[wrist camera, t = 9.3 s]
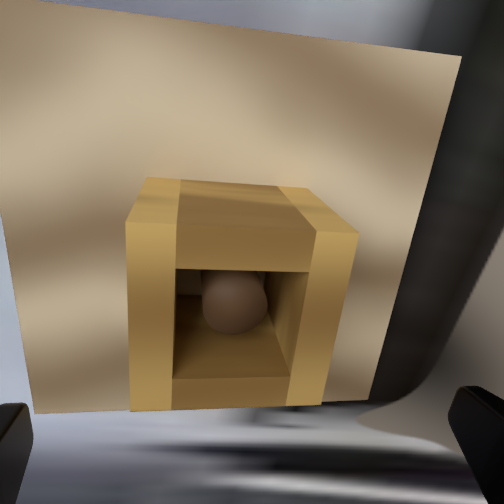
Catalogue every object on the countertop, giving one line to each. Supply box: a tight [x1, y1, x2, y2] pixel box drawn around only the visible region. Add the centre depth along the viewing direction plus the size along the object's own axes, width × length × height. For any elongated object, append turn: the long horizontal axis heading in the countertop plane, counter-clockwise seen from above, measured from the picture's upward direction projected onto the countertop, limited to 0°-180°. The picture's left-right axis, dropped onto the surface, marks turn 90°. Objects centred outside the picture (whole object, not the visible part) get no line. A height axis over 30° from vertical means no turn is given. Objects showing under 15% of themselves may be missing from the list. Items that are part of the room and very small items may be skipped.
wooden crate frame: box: [125, 177, 360, 412], centre depth 13 cm, size 6×6×5 cm
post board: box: [0, 0, 462, 414], centre depth 14 cm, size 16×16×6 cm
